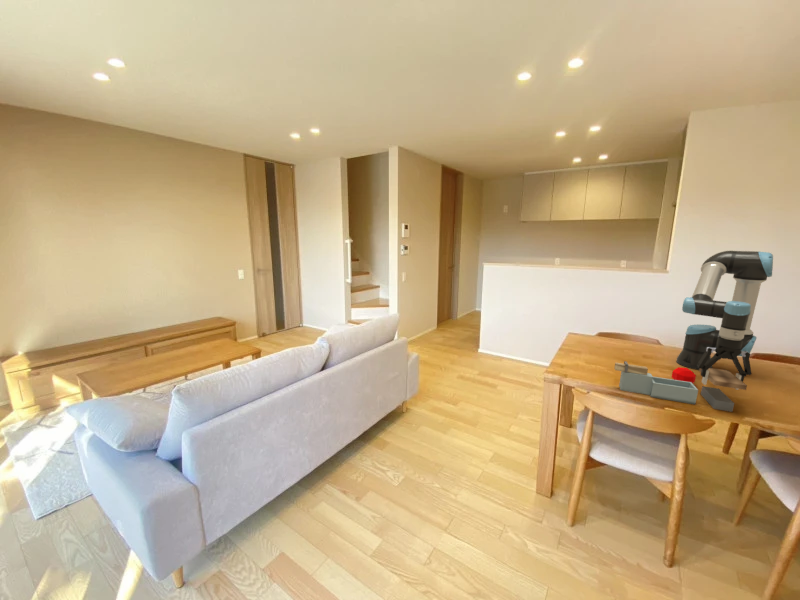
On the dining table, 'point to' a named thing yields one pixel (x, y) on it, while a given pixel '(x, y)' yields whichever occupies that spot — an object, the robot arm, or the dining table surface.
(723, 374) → the lid
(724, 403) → the block
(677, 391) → the open box
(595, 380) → the dining table surface
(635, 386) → the grey block with peg
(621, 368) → the bar
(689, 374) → the ball
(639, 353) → the dining table surface
